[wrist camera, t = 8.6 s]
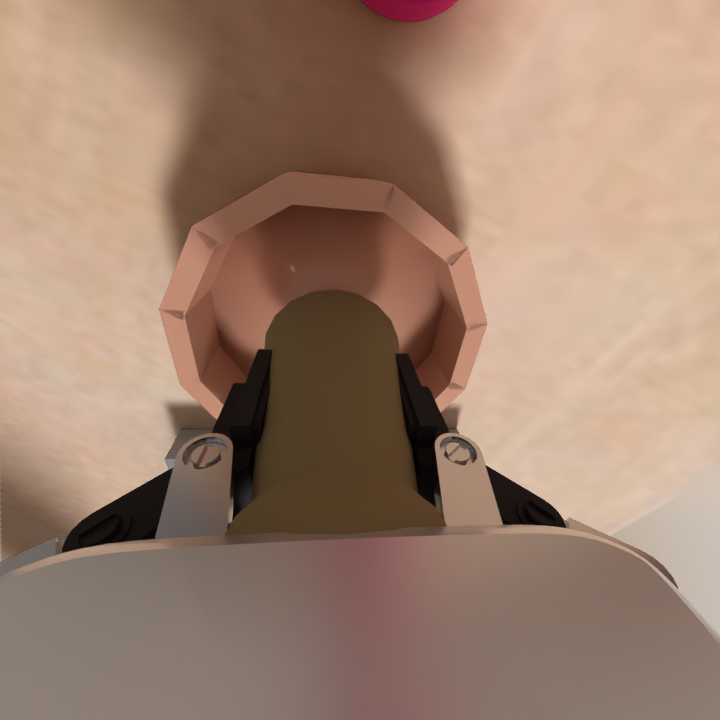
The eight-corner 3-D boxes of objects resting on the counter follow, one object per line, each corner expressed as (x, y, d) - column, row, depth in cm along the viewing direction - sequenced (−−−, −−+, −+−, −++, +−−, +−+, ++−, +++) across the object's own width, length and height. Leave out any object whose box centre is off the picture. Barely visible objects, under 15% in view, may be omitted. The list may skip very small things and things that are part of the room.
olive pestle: (237, 364, 14) (46, 783, 4) (318, 257, 11) (276, 648, 2) (343, 422, 16) (361, 769, 7) (425, 343, 14) (619, 698, 5)
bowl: (424, 410, 22) (442, 455, 18) (222, 409, 20) (200, 458, 17) (483, 190, 14) (530, 197, 11) (171, 158, 13) (116, 156, 9)
